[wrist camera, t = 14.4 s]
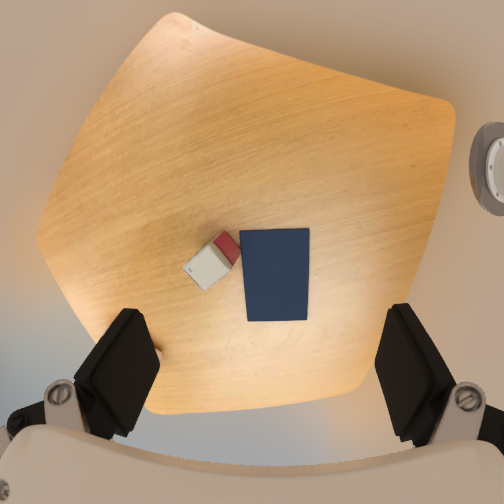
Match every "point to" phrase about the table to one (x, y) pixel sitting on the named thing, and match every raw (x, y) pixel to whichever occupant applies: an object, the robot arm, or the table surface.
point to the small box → (213, 260)
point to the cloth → (275, 273)
